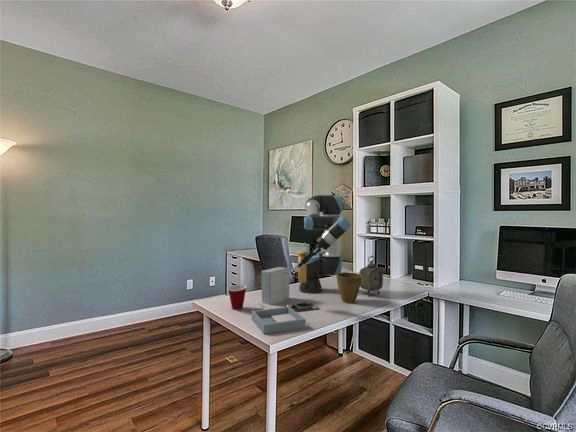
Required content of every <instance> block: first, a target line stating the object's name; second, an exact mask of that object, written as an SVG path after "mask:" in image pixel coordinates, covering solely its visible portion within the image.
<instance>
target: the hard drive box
mask: <svg viewBox="0 0 576 432" xmlns="http://www.w3.org/2000/svg"><path fill="white" fill-rule="evenodd" d="M286 301H290V268H289V267H288V268H287V267H282V266H279V267H272V268H269V269H265V270H261V303H263V304H266V305H269V306H271V305H276V304H279V303H282V302H286Z"/></svg>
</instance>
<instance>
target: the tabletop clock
mask: <svg viewBox="0 0 576 432" xmlns="http://www.w3.org/2000/svg"><path fill="white" fill-rule="evenodd" d="M371 258H373V260H370V259H371ZM367 259H368V260H367V261H368V263H367V266H364V267H362V268H360V269H359V273H358V274H360V275H362V278H361V284H360V288H361V289H362V290H367V291H366V294H367V297H371V296H372V295H371V292H377V294H381V291H379V290H381V289H382V288H383V283H384V270H383V268H382V267H377V266H376V264H375V263H374V262H375V259H376V258H375V257H374V256H373V255H371V256H369V257H368V258H367Z"/></svg>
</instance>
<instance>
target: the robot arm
mask: <svg viewBox="0 0 576 432" xmlns="http://www.w3.org/2000/svg"><path fill="white" fill-rule="evenodd" d="M342 202H343V201H342V198H341V196H340V195H337V194H336V195H334V194H324V195H323V194H318V195H314V196H311V197H309V198H308V199H307V200H306V201H305V204H304V209H305V211H306V216H304V217H303V223H304V225H303V228H304V229H305V230H308V231H309V230H310V231H323V233H321V235H320V236H319V237H318V238H316V243H317V244H318V245H317V244H316V245H314V246H313V247H312V249H311V250H310V252H308V255H307V256H306V257H305V258H304V259H302V260H301V261H300V262H299V263H297V264H296V265H295V266H294V267H293V268H292V270H293V271H294V272H295V273H298V270H299V269H300V268H301V267H303V266H304V265H305V264H306V282H303V283H302V282H300V284H299V291H300V292H301V293H304V294H317V293H320V292H322V291H323V287H322V284H321V281H320V276H332V277H333V276H336V274H338V273H342V268H343V258H342V257H341V255H340V254H339V252H338V248H339V247H338V244H339V243H338V242H339V241H338V240H339V238H340V237H341V236H343V235H344V234H345V233H346V232H347V231H348V230H349V229H350V228H351V227H352V223H351V222H350V221H349V220H348V218H346V217H345V216H344V215H341V214H342V213H343V203H342ZM320 213H322V216H321V215H320ZM322 249H323V250H324V253H323V254H322V257H320V255H317V254H319V253H321V252H322Z"/></svg>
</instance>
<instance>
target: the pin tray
mask: <svg viewBox="0 0 576 432" xmlns="http://www.w3.org/2000/svg"><path fill="white" fill-rule="evenodd" d="M286 313H288V315H289V316H291V317H292V318H293V319H290V320H284V321H283V320H282V321H277V320H275V318H274V317H273V315H279V314H286ZM271 315H272V316H271ZM251 320H252V322H253V323H254V324H255V325H256V327H257V328H258V329H259V330H260V331H261V333H263V335H268V334H275V333H280V332H281V333H283V332H287V331H294V330H295V331H296V330H300V329H305V328H306V318H304V317H303V316H302V315H301V314H299V312H295V311H294V310H293V309H291V308H290V307H285V306H282V307H275V308H268V309H265V308H264V309H260V310H251Z"/></svg>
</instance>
